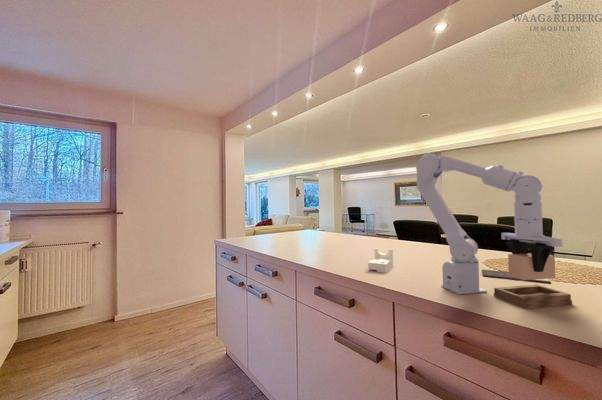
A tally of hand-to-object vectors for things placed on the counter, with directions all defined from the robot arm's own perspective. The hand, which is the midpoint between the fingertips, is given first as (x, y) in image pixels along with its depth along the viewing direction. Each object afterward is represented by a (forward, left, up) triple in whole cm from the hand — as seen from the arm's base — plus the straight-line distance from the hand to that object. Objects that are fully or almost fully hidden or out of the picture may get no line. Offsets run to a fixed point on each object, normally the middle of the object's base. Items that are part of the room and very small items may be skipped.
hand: (529, 269), depth 70 cm
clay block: (0, 0, -2) cm, 2 cm away
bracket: (-23, +42, -9) cm, 49 cm away
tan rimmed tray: (0, 0, -8) cm, 8 cm away
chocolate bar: (+16, +20, -9) cm, 27 cm away
